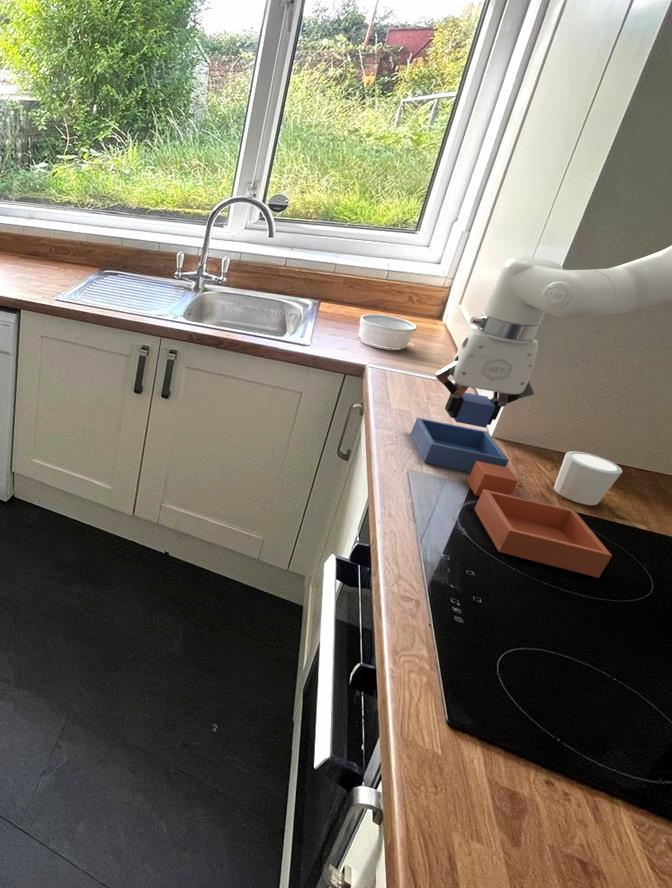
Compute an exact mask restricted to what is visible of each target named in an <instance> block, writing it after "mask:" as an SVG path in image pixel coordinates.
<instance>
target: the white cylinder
mask: <svg viewBox="0 0 672 888" xmlns="http://www.w3.org/2000/svg"><path fill="white" fill-rule="evenodd" d="M623 472H624V470H623V469H622V468H621V466H619V465H618V464H616V463H615V462H612V461H610V460H608V459H607V458H603V457H601V456H598V455H596V454H592V453H588V452H585V451H584V452H583V451H577V450H576V451H575V450H573V451H572V450H571V451H569V450H568V451H567V452H566V453H565V455H564V458H563V460H562V463H561V466H560V469H559V472H558V474H557V477H556V480H555V483H554V486H553V490H554V491H555V492H556V493H557V494H558V495H560V496H562V497H563V498H565V499H567V500H570V501H572V502H574V503H578V504H582V505H587V506H597V505H598V504H599V503H600V502H601V500H602V499H603V498H604V496H606V494H607V493H608V491H609V490H610V489H611V487H612V486H613V485H614V483H615V482H616V481H617V480H618V478H619V477H620V476H621V474H622V473H623Z"/></svg>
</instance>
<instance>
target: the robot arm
mask: <svg viewBox="0 0 672 888" xmlns="http://www.w3.org/2000/svg"><path fill="white" fill-rule="evenodd" d="M668 301H672V245H669V246H668V247H666V248H664V249H662V250H659V251H657V252H654V253H652V254H649V255H646V256H644V257H641V258H638V259H637V258H636V259H634V260H631V261H629V262H626V263H623V264H620V265H615V266H613V267H609V268H595V269H594V268H593V269H564V267H563V266H562V265H561V264H559V263H558V262H555V261H551V260H548V259H542V258H536V257H528V256H527V257H526V256H516V257H515V256H514V257H511V258H509V259H507V260H506V261H505V262H504V264H503V266H502V267H501V270H500V272H499V275H498V277H497V279H496V281H495V284H494V286H493V289H492V291H491V294H490V297H489V299H488V301H487V304H486V306H485V309H484V311H483V312H481V315H480V316H472V317H471V318H470V320H469V324H470V325H474V326H476V328H475V327H473V328H472V329H471V330H470V332H469V333H468V334H467V335H466V337H465V338H464V340H463V341H462V343H461V345H460V346H459V348H458V350H457V352H456V354H455V355H454V358H453V360H452V362H451V363H449V364H448V365H446V366H444V367H442V368H441V369H440V370H438V371H436V372H435V373H434V377H435V379H436V380H438V381H439V382H440V383H441V384H442V385H443V386H444V387H445V388H446V389H447V391H448V392H449V393H450V395H449V396H448V398H447V402H446V404H445V407H444V410H445V412H446V413H447V414H448V416H449V417H450V418H451V419H454V418H456V416H457V414H458V411H459V409H460V407H461V404H462V402H463V400H462V395H463V394H464V393H466V392H467V390H468V389H469V388H472V389H478V390H484V391H488V392H489V391H490V392H492V397H491V398H489V400H490V401H491V402H492V403H493V404H494V405H495V409H494V411H493V413H492V415H491V418H490V420H489V422H488V424H487V426H491V425H492V423H493V421H496V420H497V418H498V416H499V413H500V411H501V409H502V408H503V407H507V404H510V403H513V402H515V401H518V400H519V399H523V398H526V397H531V396H533V395H534V394H535V391H534V389H533V387H532V385H531V383H530V381H529V380H530V378H531V376H532V372H533V370H534V366H535V363H536V358H537V354H538V350H539V341H538V340H536V339H535V337H536V334H537V332H538V330H539V328H540V325H541V323H542V321H543V319H544V317H545V316H546V315H545V314H548V315H551V316H554V317H558V318H564V319H565V318H566V319H576V318H587V317H588V318H589V317H599V316H600V317H601V316H614V315H620V314H624V313H628V312H633V311H637V310H640V309H644V308H648V307H651V306H655V305H658V304H663V303H665V302H668ZM449 376H451V377H452V378H453V381H454V382H453V381H452V380H450V379H449Z"/></svg>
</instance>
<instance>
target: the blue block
mask: <svg viewBox="0 0 672 888" xmlns="http://www.w3.org/2000/svg"><path fill="white" fill-rule="evenodd" d="M489 399H490V397H488V396H487V395H481V394H475V393H469V392H465V393H464V394H463V395H462V400H463V402H462V404H461V407H460V409H459V411H458V414H457V416H456V418H453V420H454V421H455V423H459V424H465V425H469V426H473V427H480V428H484V429H486V428H487V427H488V425H487V424H488V422H489V420H490V418H491V415H492V413H493V411H494V409H495V405H494V404H493V403H492V402H491V401H490V400H489Z"/></svg>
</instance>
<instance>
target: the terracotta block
mask: <svg viewBox="0 0 672 888" xmlns="http://www.w3.org/2000/svg"><path fill="white" fill-rule="evenodd" d="M518 482H519V480H518V479H517V478H516V476H515V475H514V473H513V472H512V471H511V470H510V468H509V467H507V466H506V467H502V466H498V465H493V464H488V463H484V462H479V461H476V463H475V465H474V467H473V469H472V472H471V473H470V474H469V477H468V478H467V480H466V483H467V484H468V486H469V488H470V490H471V491H472V493H473V494H474V495H475V496H477V497H480V496H481V494H482V492H483V490H489V491H493V492H498V493H502V494H506V495H511V496H513V495H512V494H513V492H514V490H515V489H516V486H517V485H518Z"/></svg>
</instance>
